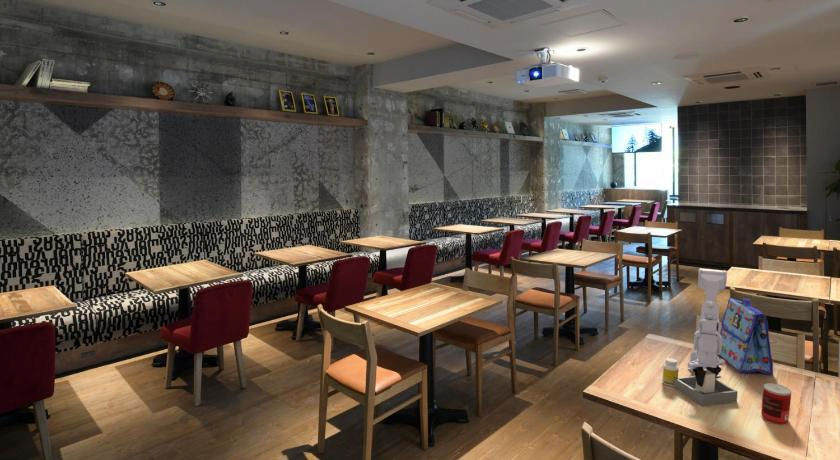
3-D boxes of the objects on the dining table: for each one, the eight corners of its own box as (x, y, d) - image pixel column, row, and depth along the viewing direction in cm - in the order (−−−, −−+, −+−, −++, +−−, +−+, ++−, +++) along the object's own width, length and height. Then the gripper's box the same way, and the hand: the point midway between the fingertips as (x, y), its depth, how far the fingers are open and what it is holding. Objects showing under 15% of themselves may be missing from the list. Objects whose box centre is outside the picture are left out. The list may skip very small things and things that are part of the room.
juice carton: (695, 387, 185) (696, 368, 183) (704, 386, 185) (705, 367, 184) (704, 393, 180) (706, 373, 179) (714, 391, 181) (715, 372, 180)
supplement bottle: (679, 387, 189) (680, 363, 188) (664, 386, 190) (665, 362, 189) (675, 380, 195) (676, 357, 193) (660, 379, 196) (661, 356, 194)
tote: (673, 387, 189) (674, 378, 188) (705, 383, 192) (706, 374, 191) (702, 406, 175) (703, 395, 174) (736, 401, 177) (737, 391, 177)
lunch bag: (715, 353, 221) (719, 292, 217) (747, 354, 219) (752, 292, 215) (739, 374, 200) (744, 306, 196) (775, 375, 198) (781, 307, 194)
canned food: (783, 414, 168) (786, 384, 167) (792, 426, 161) (795, 395, 159) (757, 411, 171) (760, 381, 169) (765, 422, 163) (768, 392, 162)
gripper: (698, 356, 175) (696, 391, 177) (732, 352, 178) (730, 387, 180) (684, 349, 182) (682, 383, 184) (717, 345, 185) (715, 379, 187)
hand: (704, 384), depth 183 cm, fingers closed on juice carton, 4 cm apart
